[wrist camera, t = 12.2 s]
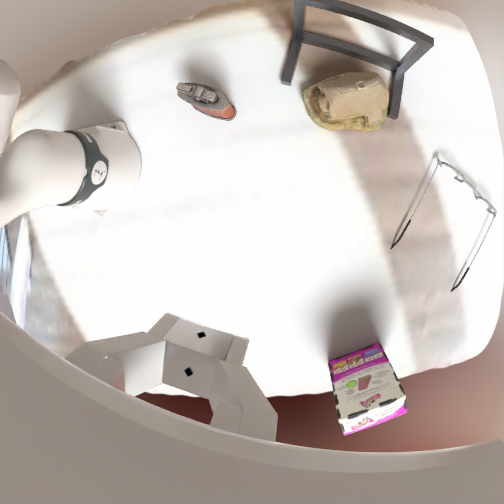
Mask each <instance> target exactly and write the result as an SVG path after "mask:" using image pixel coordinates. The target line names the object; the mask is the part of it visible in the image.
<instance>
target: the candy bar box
mask: <svg viewBox="0 0 504 504" xmlns="http://www.w3.org/2000/svg"><path fill="white" fill-rule="evenodd" d="M328 365H329V370H330V375H331V381H332V386H333V391H334V398H335V403H336V408H337V416H338V420H339V423H340V425H341V427H342V430H343V433H344V435H347V434H350V433H353V432H356V431H360V430H363V429H366V428H368V427H371V426H374V425H377V424H379V423H382V422H385V421H387V420H390V419H392V418H394V417H397V416H399V415H402V414H404V413H406V412H407V407H406V395H405V393H404V390H403V388H402V386H401V384H400V382H399V380H398V378H397V376H396V374H395V372H394V370H393V368H392V366H391V364H390V362H389V360H388V358H387V356H386V354H385V352H384V350H383V348H382V346H381V344H380V343H376V344H374V345H371V346H369V347H366V348H364V349H361V350H359V351H356V352H354V353H351V354H348V355H346V356H343V357H340V358H337V359H334V360H331V361H329V362H328Z"/></svg>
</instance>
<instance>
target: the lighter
mask: <svg viewBox="0 0 504 504" xmlns="http://www.w3.org/2000/svg"><path fill="white" fill-rule="evenodd" d="M176 89H177V90H178V96H179V97H180V98H181V99H183V100H185V101H187V102H188V103H190V104H192V106H193V107H194V108H195V109H196V110H198V111H200V112H201V113H203V114H205V115H208V116H210V117H213V118H216V119H221V120H226V121H230V120H233V119H234V118H235V116H236V114H237V111H236V109H235V108H234V107H233V106H232V105H231V104H230V103H229V102H228V99H227V97H226V95H224V94H223V93H221V92H219V91H218V90H216V89H214V88H211V87H208V86H206V85H201V84H196V83H179V84H178V85H177V87H176Z"/></svg>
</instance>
